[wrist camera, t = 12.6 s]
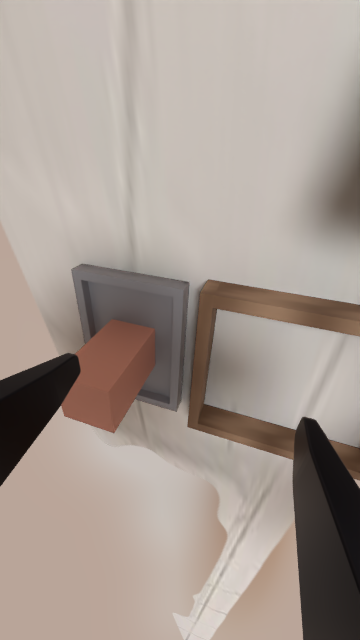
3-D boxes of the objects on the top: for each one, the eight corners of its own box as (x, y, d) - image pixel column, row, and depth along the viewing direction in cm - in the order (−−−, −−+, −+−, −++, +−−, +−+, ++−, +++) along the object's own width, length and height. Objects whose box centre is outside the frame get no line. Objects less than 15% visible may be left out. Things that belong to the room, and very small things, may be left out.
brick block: (155, 328, 24) (108, 392, 17) (155, 365, 26) (114, 433, 20) (111, 319, 25) (52, 375, 18) (115, 354, 27) (64, 416, 21)
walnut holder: (473, 324, 16) (500, 347, 14) (369, 459, 24) (378, 486, 22) (208, 279, 20) (200, 292, 18) (194, 407, 28) (187, 426, 26)
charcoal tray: (189, 282, 21) (183, 289, 20) (181, 400, 28) (176, 411, 27) (82, 263, 23) (71, 269, 22) (100, 377, 31) (93, 386, 30)
